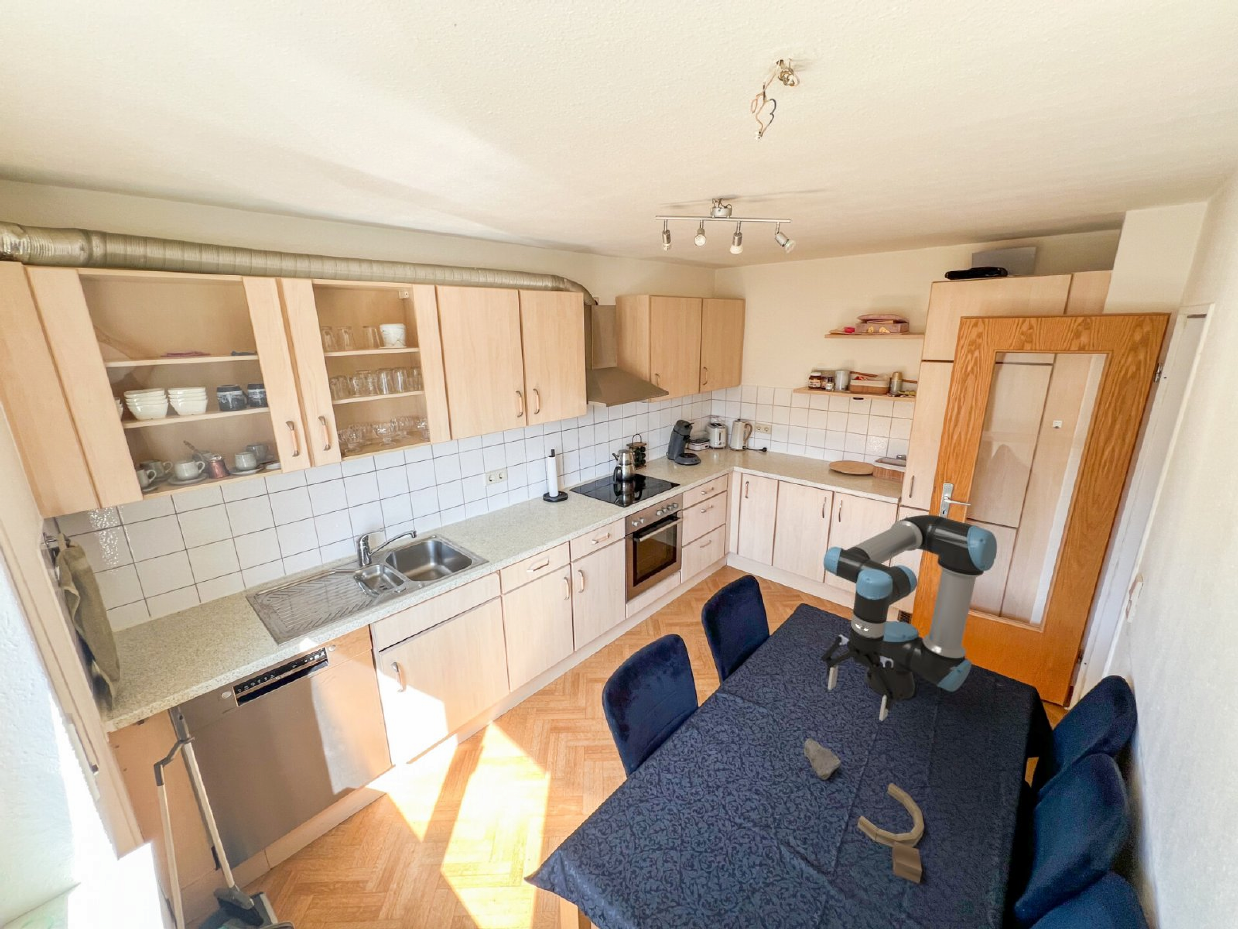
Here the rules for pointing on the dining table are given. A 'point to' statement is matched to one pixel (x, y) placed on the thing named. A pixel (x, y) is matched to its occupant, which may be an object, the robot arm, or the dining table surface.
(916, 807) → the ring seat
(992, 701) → the dining table surface
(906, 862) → the walnut block
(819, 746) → the stone
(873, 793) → the dining table surface
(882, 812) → the dining table surface
